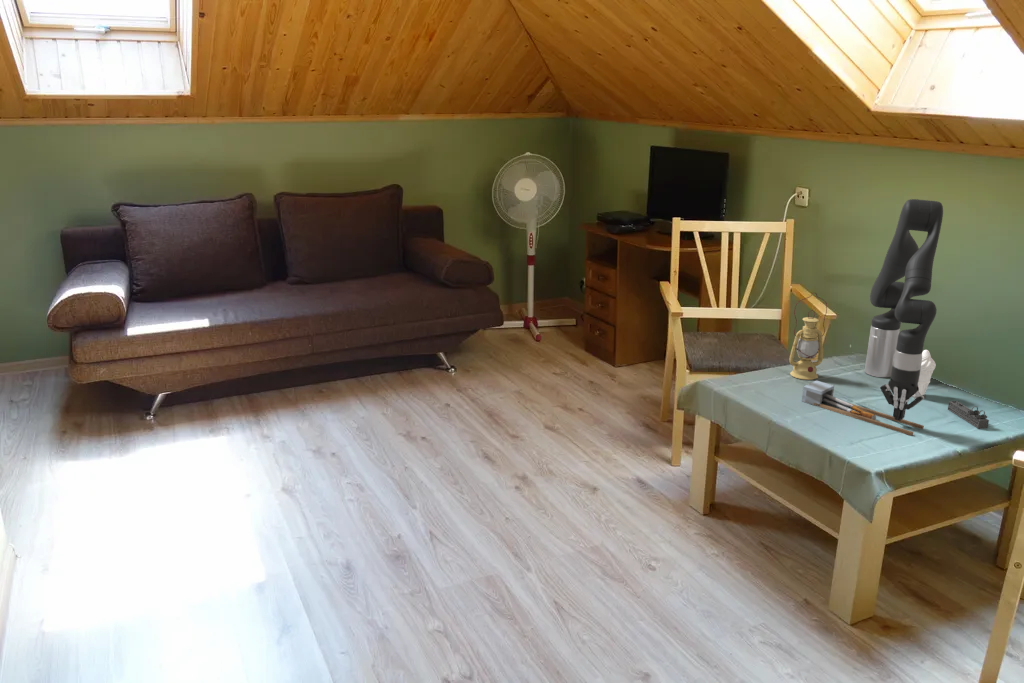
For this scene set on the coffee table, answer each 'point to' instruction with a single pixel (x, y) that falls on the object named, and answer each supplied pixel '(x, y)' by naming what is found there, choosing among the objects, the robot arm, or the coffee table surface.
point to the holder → (817, 389)
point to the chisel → (860, 412)
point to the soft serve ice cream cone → (925, 371)
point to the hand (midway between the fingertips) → (898, 419)
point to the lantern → (807, 348)
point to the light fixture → (969, 414)
